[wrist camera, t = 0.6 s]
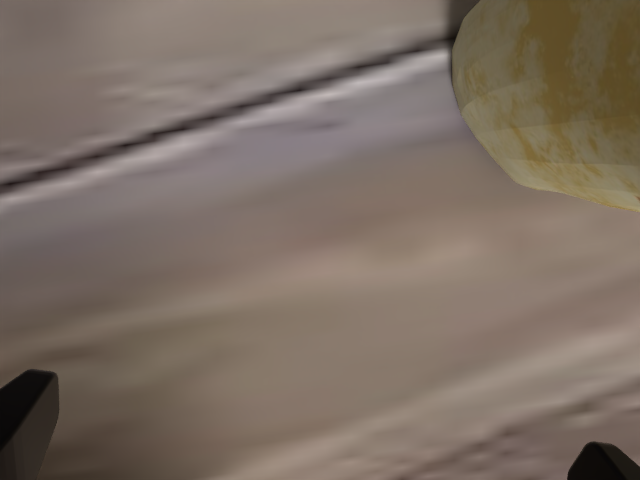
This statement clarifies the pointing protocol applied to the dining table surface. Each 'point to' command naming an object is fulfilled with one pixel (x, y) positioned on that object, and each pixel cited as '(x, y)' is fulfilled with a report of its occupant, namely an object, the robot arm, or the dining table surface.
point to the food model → (555, 93)
